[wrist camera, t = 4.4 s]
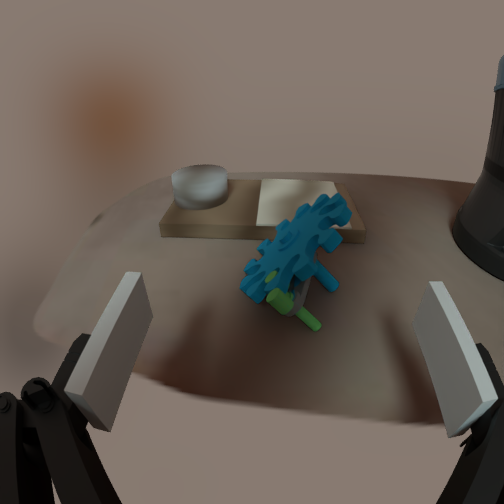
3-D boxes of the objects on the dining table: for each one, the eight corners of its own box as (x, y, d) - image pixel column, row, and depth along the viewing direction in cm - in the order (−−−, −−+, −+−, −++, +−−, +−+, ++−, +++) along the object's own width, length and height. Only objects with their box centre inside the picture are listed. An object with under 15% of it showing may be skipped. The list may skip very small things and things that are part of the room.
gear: (259, 226, 30) (344, 167, 23) (301, 268, 31) (388, 221, 25) (209, 319, 22) (323, 264, 15) (268, 365, 24) (385, 330, 17)
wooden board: (343, 194, 40) (346, 161, 38) (363, 243, 30) (371, 201, 28) (189, 190, 42) (186, 157, 39) (161, 236, 32) (154, 195, 29)
